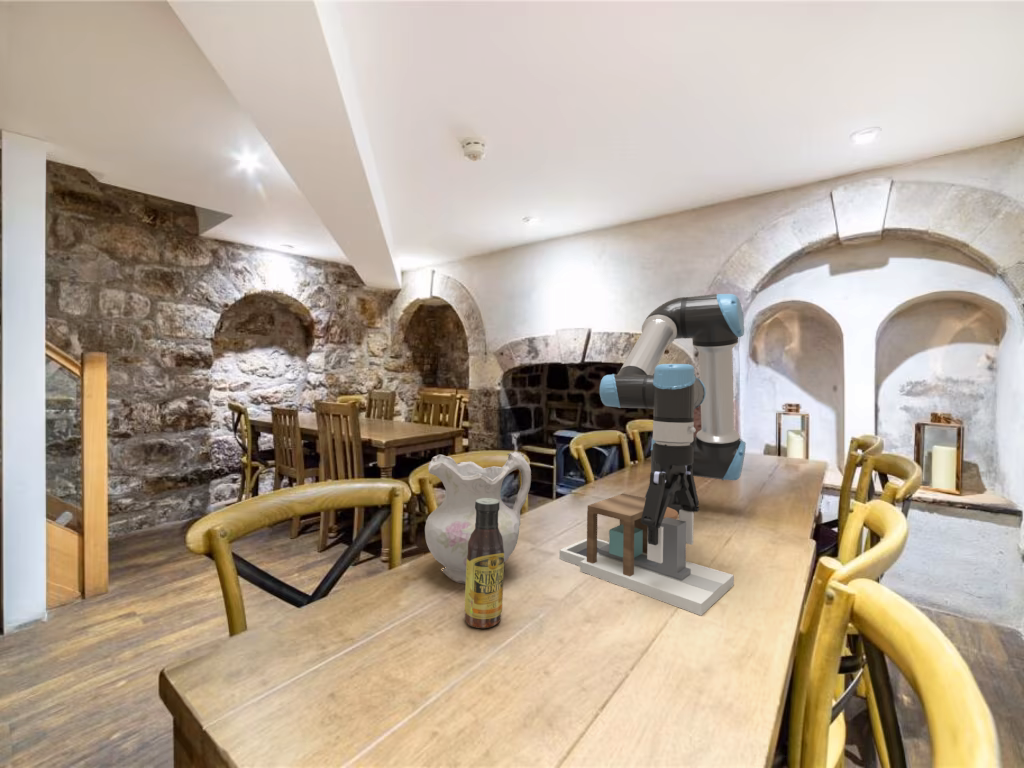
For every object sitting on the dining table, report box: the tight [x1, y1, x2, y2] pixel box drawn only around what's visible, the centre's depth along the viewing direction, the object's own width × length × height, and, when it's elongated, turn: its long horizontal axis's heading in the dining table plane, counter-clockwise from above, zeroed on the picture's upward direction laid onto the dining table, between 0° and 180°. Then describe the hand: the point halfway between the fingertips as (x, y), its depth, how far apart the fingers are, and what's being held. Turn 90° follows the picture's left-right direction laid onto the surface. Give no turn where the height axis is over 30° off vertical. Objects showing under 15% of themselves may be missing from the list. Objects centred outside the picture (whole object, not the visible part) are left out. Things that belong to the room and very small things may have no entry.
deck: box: [559, 537, 735, 616], centre depth 94 cm, size 16×32×2 cm, turn 46°
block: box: [608, 524, 643, 558], centre depth 96 cm, size 5×5×5 cm
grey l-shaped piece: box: [598, 517, 691, 580], centre depth 93 cm, size 4×18×10 cm, turn 46°
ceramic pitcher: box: [424, 450, 532, 585], centre depth 94 cm, size 22×20×25 cm
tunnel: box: [586, 493, 664, 577], centre depth 96 cm, size 14×10×12 cm
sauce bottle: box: [464, 498, 505, 629], centre depth 75 cm, size 6×6×20 cm
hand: (671, 551), depth 89 cm, fingers open, 13 cm apart
